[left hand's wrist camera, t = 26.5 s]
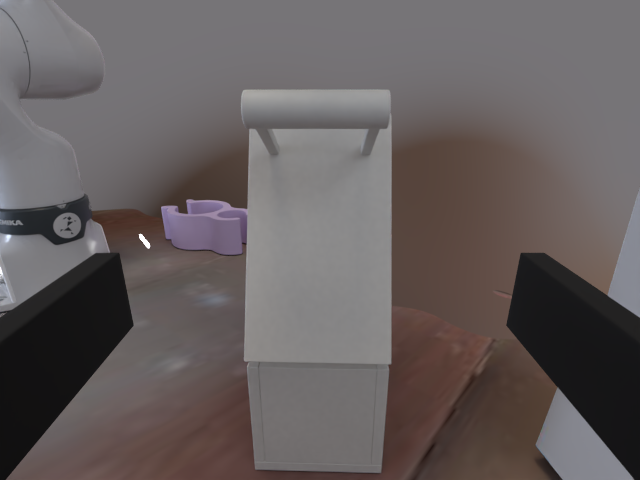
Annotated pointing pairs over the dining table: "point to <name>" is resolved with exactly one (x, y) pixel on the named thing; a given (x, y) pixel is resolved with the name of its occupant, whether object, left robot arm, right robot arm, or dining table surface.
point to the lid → (318, 226)
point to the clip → (207, 226)
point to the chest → (318, 416)
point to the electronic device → (563, 419)
